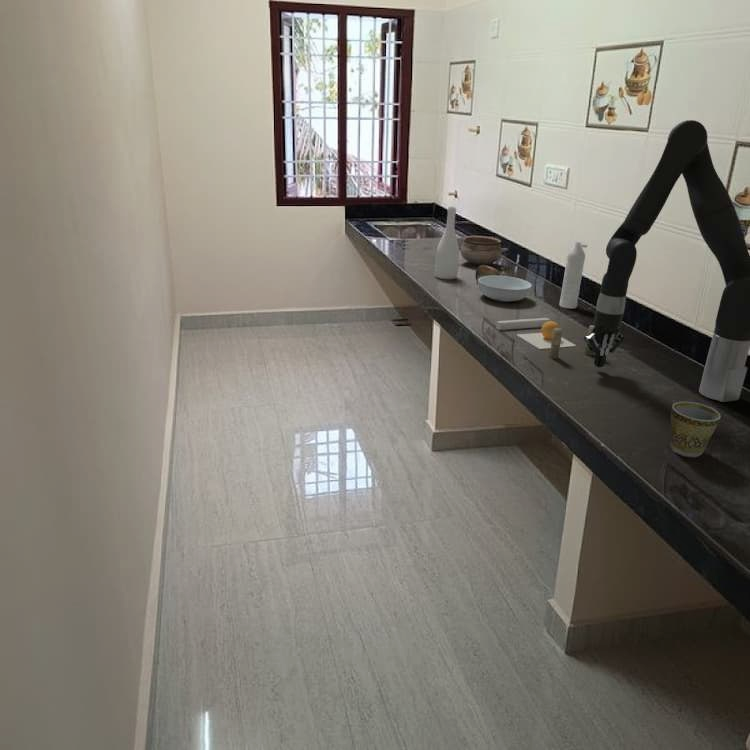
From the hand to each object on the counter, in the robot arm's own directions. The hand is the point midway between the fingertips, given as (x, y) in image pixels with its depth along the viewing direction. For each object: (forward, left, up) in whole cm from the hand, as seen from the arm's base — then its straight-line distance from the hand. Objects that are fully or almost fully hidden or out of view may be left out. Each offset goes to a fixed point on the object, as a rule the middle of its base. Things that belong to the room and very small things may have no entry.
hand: (599, 366), depth 196 cm
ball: (+28, -2, +2) cm, 28 cm away
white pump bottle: (+59, -32, -2) cm, 67 cm away
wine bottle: (+110, -4, -2) cm, 110 cm away
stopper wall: (+41, 0, -2) cm, 41 cm away
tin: (+93, -15, -2) cm, 94 cm away
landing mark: (+27, 0, -2) cm, 27 cm away
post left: (+13, +7, -2) cm, 15 cm away
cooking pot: (+129, -31, -2) cm, 133 cm away
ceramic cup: (-46, +10, -2) cm, 47 cm away
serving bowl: (+75, -12, -2) cm, 76 cm away
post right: (+13, -7, -2) cm, 15 cm away
